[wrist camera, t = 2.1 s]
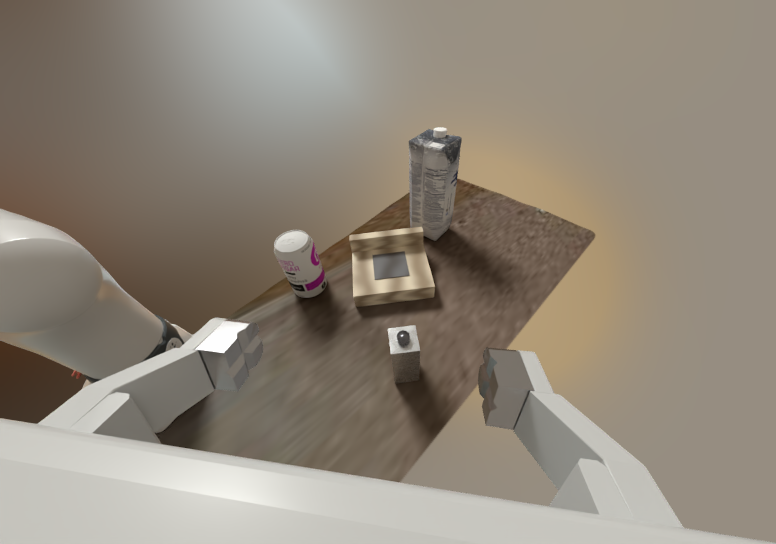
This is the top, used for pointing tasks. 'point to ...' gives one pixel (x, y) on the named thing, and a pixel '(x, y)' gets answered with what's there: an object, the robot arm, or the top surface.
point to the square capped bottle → (404, 353)
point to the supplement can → (300, 263)
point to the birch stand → (390, 267)
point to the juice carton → (433, 180)
